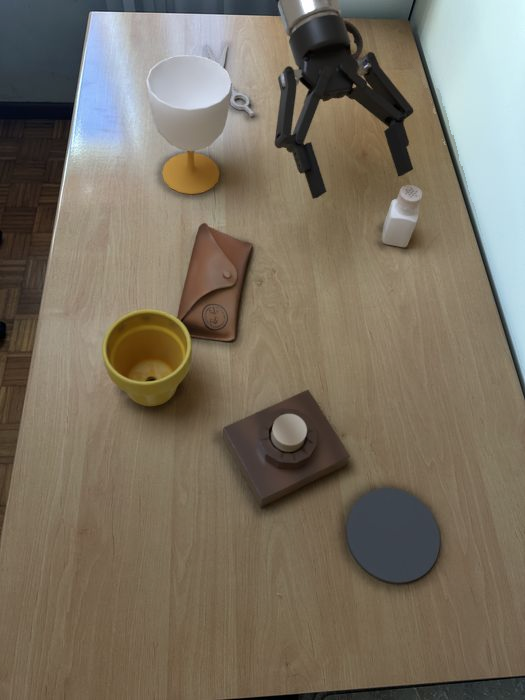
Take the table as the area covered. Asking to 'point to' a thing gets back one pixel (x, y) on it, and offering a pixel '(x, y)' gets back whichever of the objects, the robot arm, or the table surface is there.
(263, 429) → the button base
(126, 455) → the table surface
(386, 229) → the pepper shaker
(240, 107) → the scissors
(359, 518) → the mat
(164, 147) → the table surface
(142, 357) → the flower pot
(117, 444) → the table surface
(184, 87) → the cup
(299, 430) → the cream short cylinder
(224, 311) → the sunglasses case
